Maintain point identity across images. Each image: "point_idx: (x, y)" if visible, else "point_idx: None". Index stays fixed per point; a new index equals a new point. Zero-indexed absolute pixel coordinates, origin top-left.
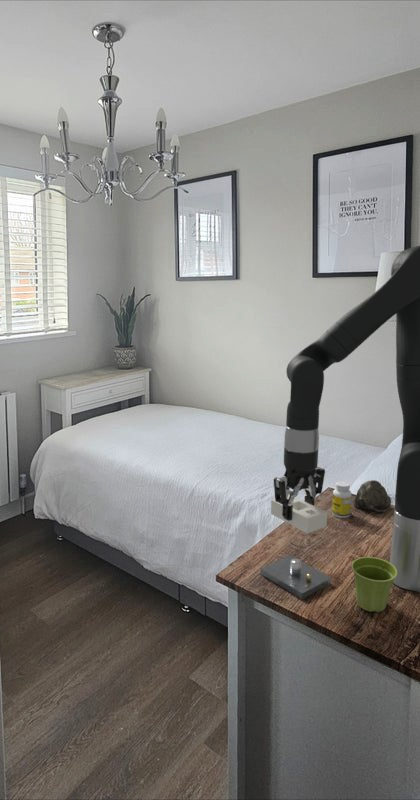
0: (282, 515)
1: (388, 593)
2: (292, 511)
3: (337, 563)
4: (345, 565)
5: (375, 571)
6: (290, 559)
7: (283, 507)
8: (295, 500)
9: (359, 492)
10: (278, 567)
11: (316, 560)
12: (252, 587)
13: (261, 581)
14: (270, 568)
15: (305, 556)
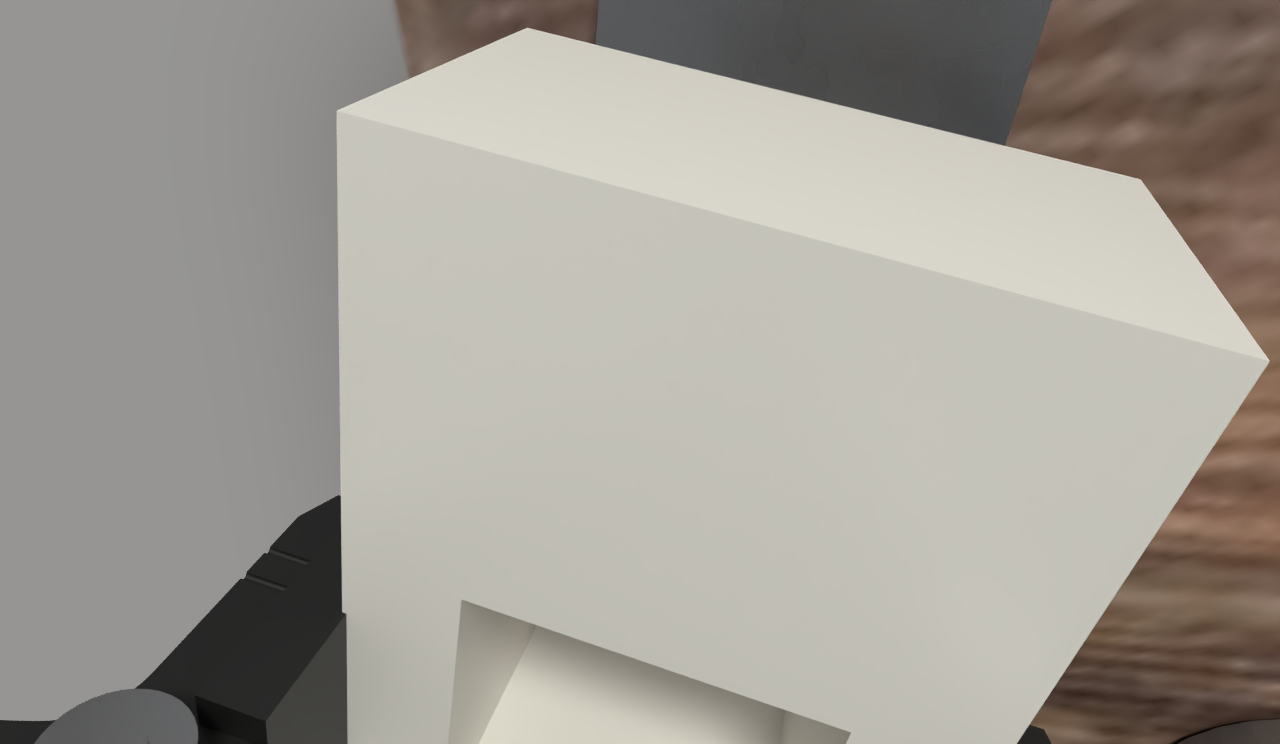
0: (316, 507)
1: None
2: (352, 739)
3: (1265, 380)
4: (1265, 443)
5: None
6: (962, 62)
7: (186, 661)
8: (838, 662)
9: None
10: (740, 61)
11: (1214, 207)
12: (428, 15)
13: (543, 15)
14: (672, 10)
15: (1241, 74)
